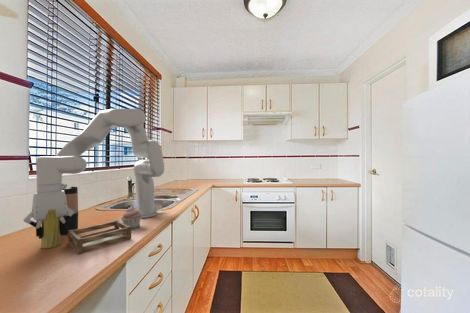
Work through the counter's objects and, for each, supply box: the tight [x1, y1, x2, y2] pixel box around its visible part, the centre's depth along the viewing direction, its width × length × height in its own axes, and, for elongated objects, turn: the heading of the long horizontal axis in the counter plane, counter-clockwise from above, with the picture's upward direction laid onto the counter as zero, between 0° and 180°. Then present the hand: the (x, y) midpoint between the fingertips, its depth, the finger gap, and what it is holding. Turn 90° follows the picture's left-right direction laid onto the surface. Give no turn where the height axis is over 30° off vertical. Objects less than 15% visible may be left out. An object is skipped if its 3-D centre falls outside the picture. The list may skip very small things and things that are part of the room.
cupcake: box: [120, 206, 143, 230], centre depth 107 cm, size 9×9×10 cm
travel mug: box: [59, 186, 79, 236], centre depth 101 cm, size 8×8×20 cm
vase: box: [40, 209, 62, 249], centre depth 86 cm, size 6×6×14 cm
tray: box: [67, 219, 132, 255], centre depth 90 cm, size 18×14×5 cm
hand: (50, 234), depth 86 cm, fingers closed on vase, 5 cm apart
